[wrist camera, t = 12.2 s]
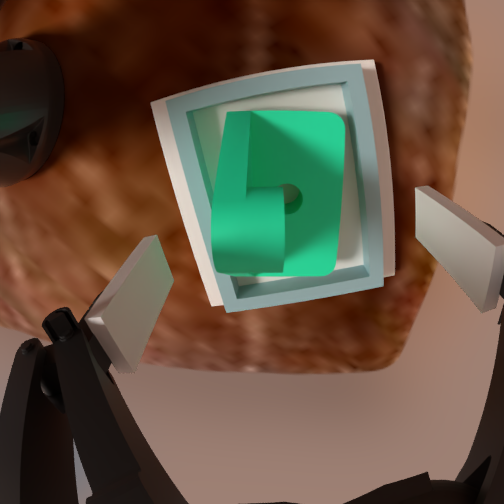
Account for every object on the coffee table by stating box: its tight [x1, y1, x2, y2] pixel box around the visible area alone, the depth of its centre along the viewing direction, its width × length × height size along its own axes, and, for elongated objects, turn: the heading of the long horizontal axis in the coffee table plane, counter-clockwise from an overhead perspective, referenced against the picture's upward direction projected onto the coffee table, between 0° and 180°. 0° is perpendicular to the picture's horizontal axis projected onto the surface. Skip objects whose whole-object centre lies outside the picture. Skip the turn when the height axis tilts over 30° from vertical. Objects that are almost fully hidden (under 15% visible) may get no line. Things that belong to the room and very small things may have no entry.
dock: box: [151, 60, 395, 313], centre depth 23 cm, size 17×18×3 cm
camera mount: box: [211, 110, 345, 277], centre depth 18 cm, size 12×8×10 cm, turn 1°
